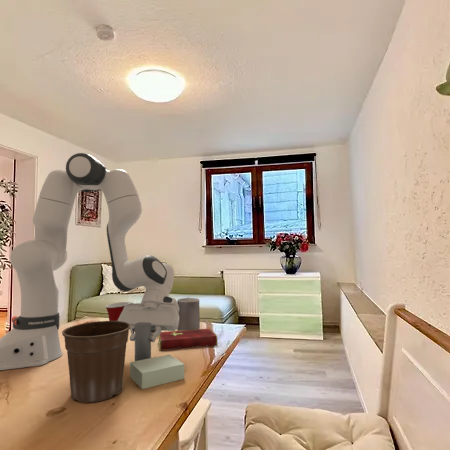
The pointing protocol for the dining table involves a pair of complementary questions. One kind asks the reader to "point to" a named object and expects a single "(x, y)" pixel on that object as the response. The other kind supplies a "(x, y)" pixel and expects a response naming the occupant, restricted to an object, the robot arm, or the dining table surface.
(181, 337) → the hardcover book
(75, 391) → the plant pot
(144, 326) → the slate jar
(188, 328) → the pillar candle
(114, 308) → the plastic cup
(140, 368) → the block
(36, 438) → the dining table surface
